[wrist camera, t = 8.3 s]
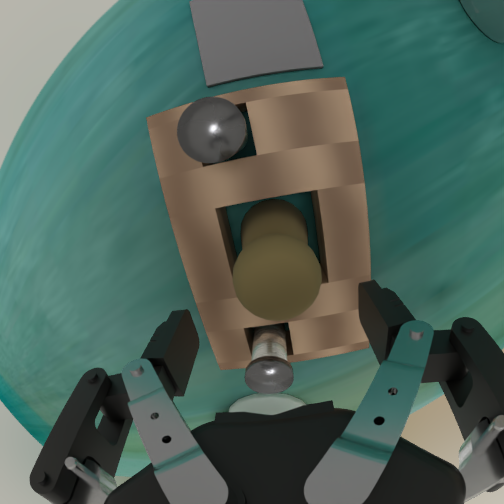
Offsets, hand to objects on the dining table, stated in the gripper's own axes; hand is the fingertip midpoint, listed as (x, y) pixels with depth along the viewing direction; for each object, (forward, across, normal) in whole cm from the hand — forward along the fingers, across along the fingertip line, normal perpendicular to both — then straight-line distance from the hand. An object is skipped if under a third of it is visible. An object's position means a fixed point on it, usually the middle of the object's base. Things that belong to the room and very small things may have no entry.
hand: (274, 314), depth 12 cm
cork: (+13, 0, 0) cm, 13 cm away
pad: (+13, -2, -19) cm, 23 cm away
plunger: (+12, +2, -9) cm, 15 cm away
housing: (+13, 0, 0) cm, 13 cm away
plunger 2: (+12, +2, +9) cm, 16 cm away
